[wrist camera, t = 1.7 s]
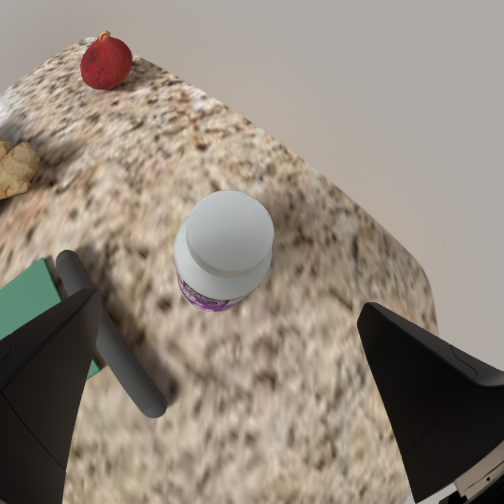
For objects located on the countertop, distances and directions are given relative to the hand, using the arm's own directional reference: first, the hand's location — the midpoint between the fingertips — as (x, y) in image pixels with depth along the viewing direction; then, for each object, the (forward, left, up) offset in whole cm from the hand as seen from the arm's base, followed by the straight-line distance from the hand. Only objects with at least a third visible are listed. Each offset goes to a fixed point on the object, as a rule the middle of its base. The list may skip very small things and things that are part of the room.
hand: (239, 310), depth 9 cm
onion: (+28, -5, -12) cm, 31 cm away
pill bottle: (+3, -3, -12) cm, 13 cm away
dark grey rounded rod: (+4, +6, -12) cm, 14 cm away
